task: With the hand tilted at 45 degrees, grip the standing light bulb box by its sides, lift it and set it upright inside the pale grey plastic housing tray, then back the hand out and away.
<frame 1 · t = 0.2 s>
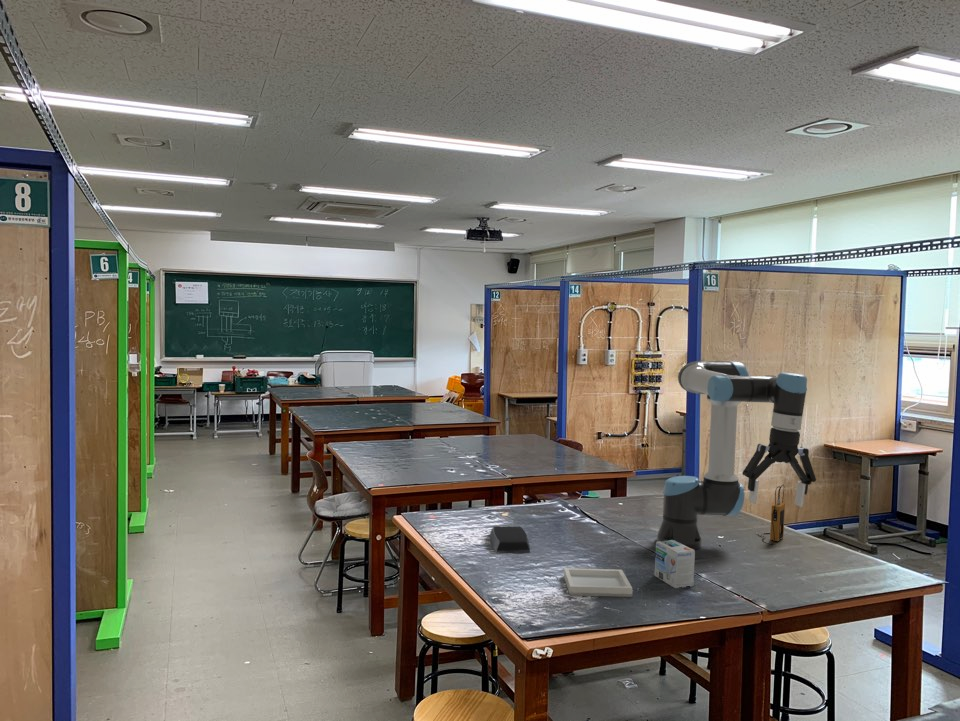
hand: (775, 504, 186), 27 cm above the table, tool pointing down, fingers open, 13 cm apart
housing tray: (596, 586, 193), on the table
light bulb box: (673, 581, 199), on the table
multimeter: (766, 538, 245), on the table
external hard drive: (509, 545, 230), on the table
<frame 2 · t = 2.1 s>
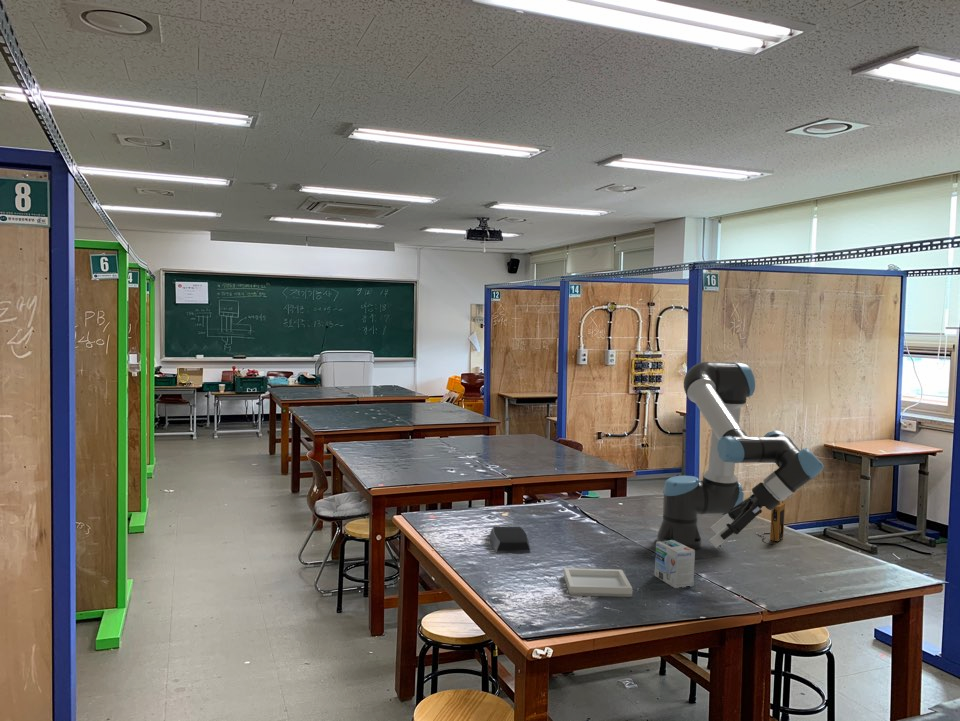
hand: (713, 537, 195), 15 cm above the table, tool tilted 45°, fingers open, 13 cm apart
nothing on the table moved.
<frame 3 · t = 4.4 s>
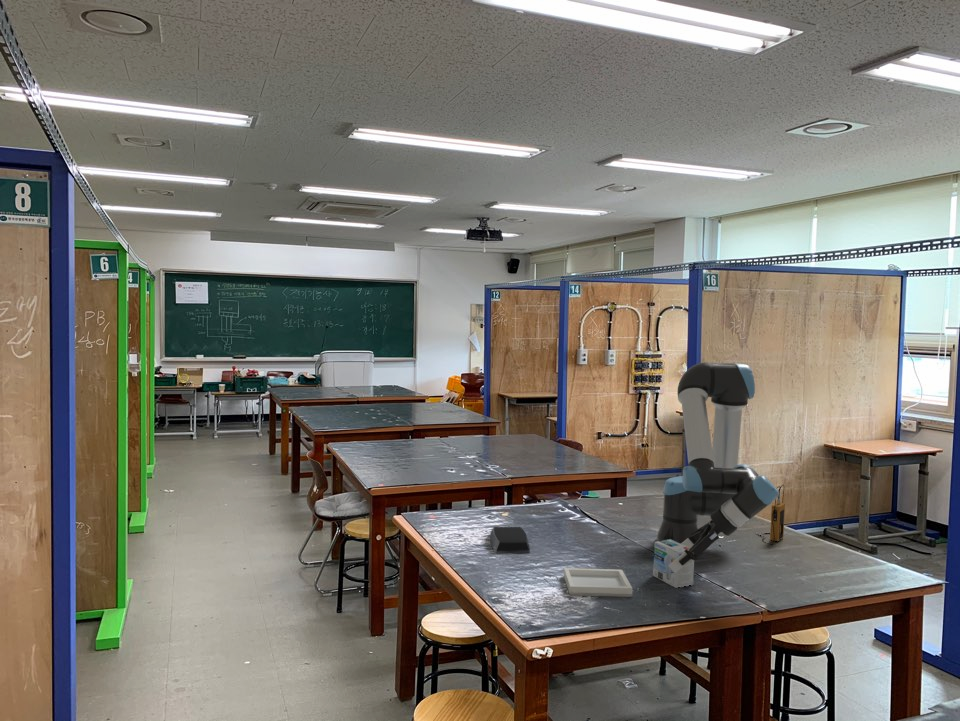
hand: (673, 561, 198), 6 cm above the table, tool tilted 45°, fingers open, 13 cm apart
nothing on the table moved.
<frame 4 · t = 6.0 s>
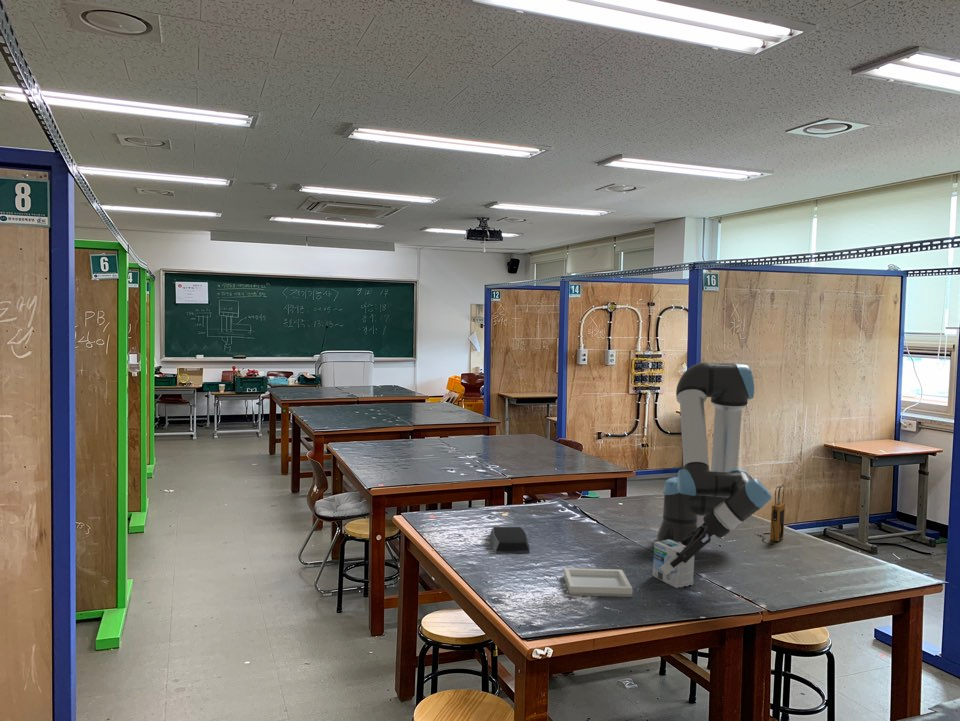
hand: (665, 564, 200), 5 cm above the table, tool tilted 45°, fingers closed on light bulb box, 12 cm apart
light bulb box: (672, 581, 199), on the table, touching gripper
everything else where it was.
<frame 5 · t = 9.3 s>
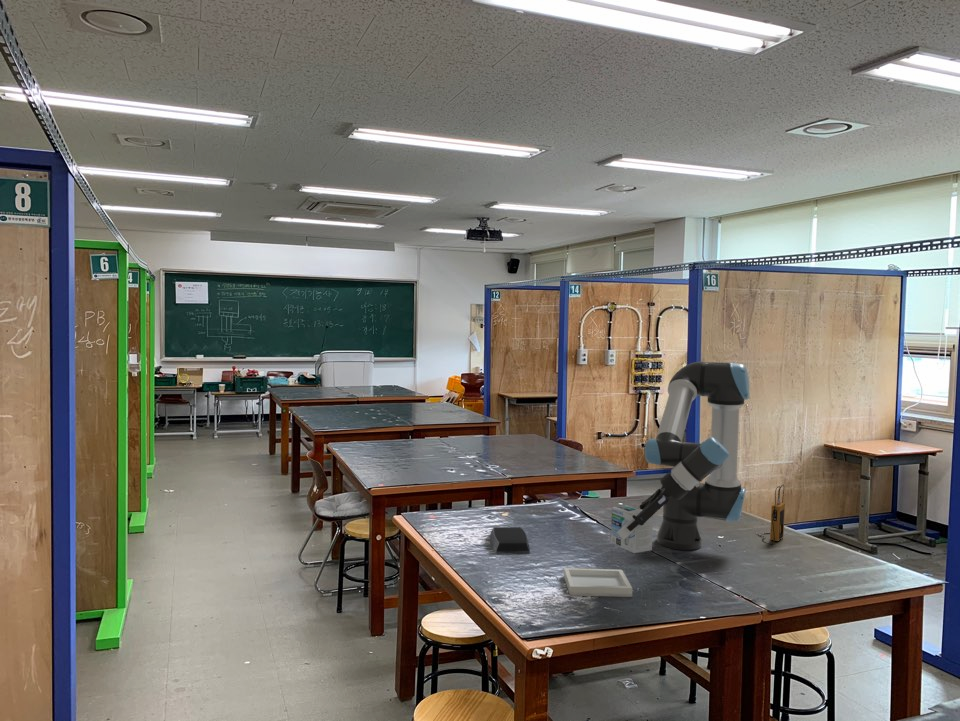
hand: (622, 530, 193), 17 cm above the table, tool tilted 45°, fingers closed on light bulb box, 12 cm apart
light bulb box: (631, 547, 192), point 12 cm above the table, touching gripper
everything else where it was.
when the fingers open (7 cm above the table, at t = 13.0 s): light bulb box stays where it is, resting on housing tray.
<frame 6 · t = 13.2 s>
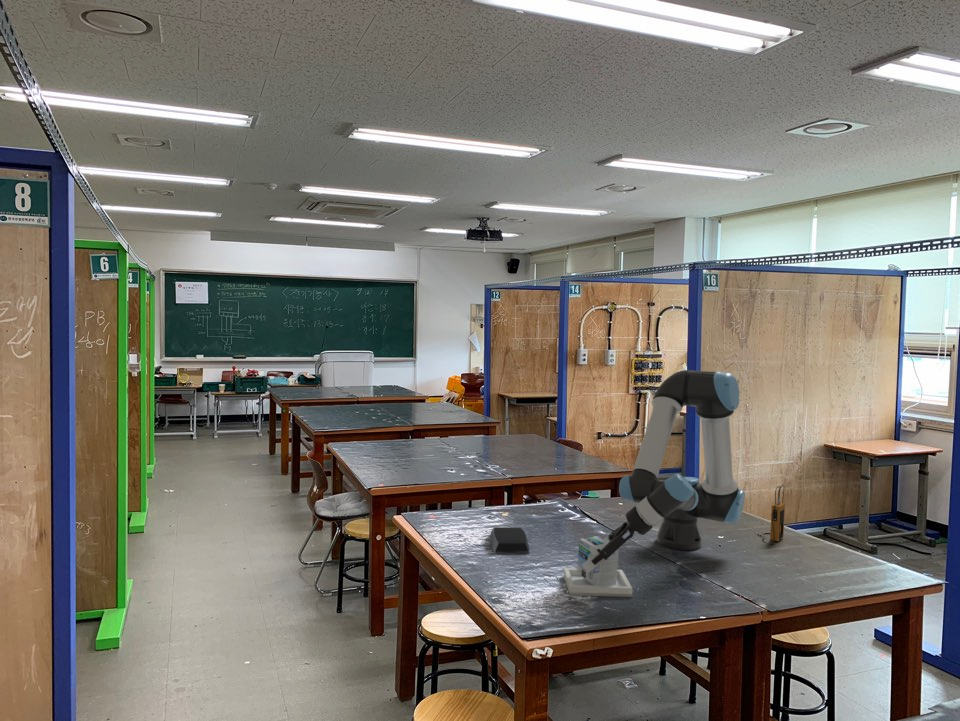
hand: (589, 561, 194), 7 cm above the table, tool tilted 45°, fingers open, 13 cm apart
light bulb box: (596, 579, 193), point 2 cm above the table, touching gripper, housing tray
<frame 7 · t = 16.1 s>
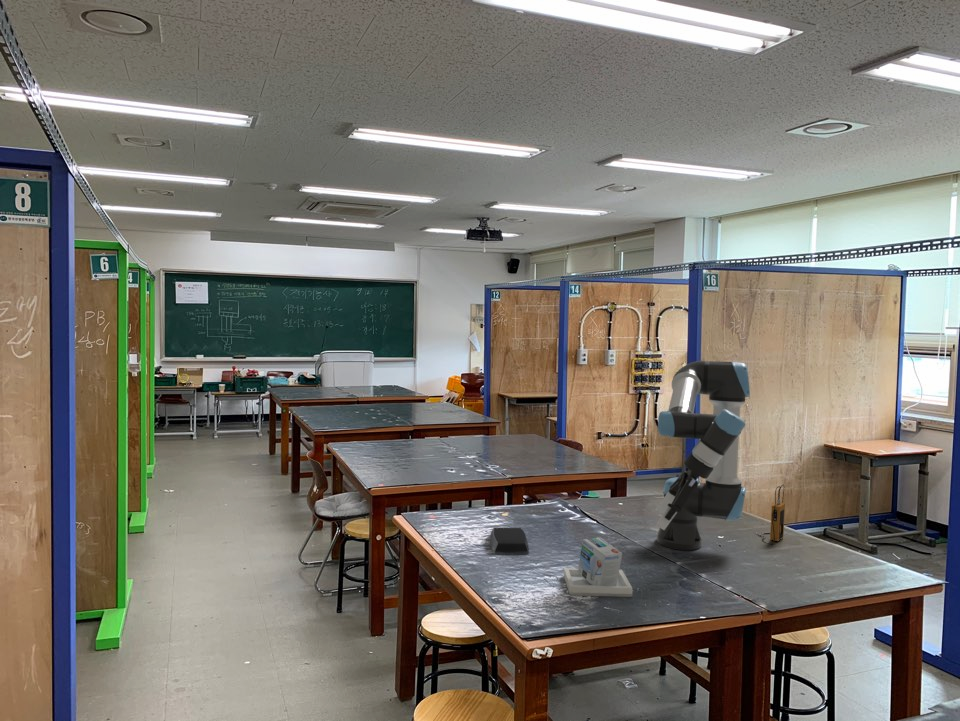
hand: (659, 519, 191), 20 cm above the table, tool tilted 30°, fingers open, 13 cm apart
light bulb box: (596, 580, 193), point 2 cm above the table, touching housing tray
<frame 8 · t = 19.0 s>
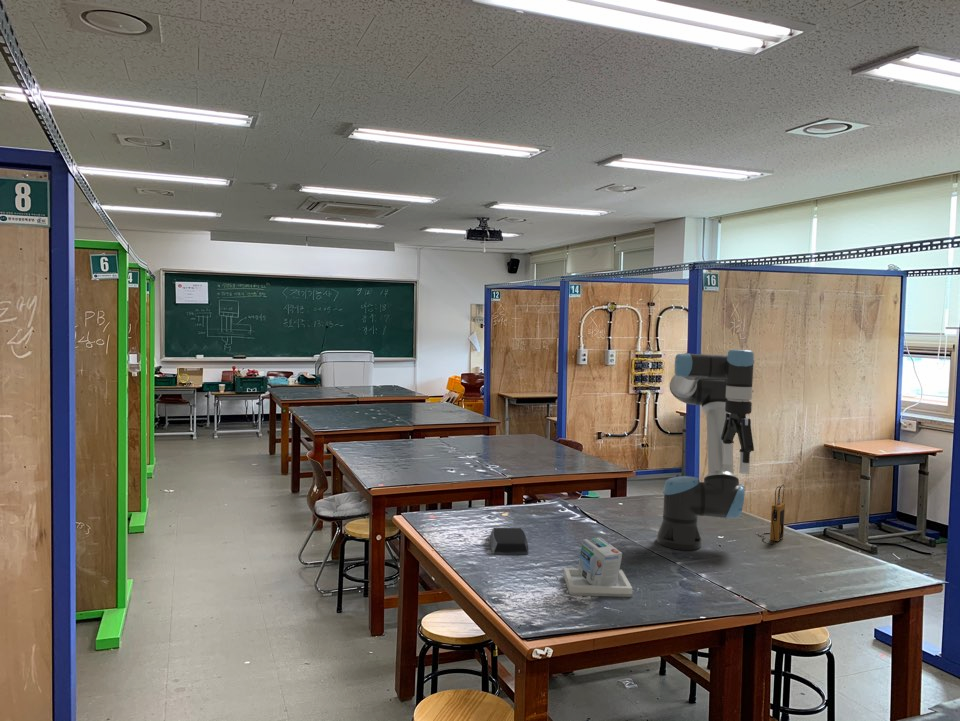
hand: (735, 468, 205), 33 cm above the table, tool pointing down, fingers open, 13 cm apart
at the end: light bulb box inside the target area on the housing tray (0.2 cm from its centre), point 1.6 cm above the housing tray's base; light bulb box tilted 10°; the gripper is holding nothing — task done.
